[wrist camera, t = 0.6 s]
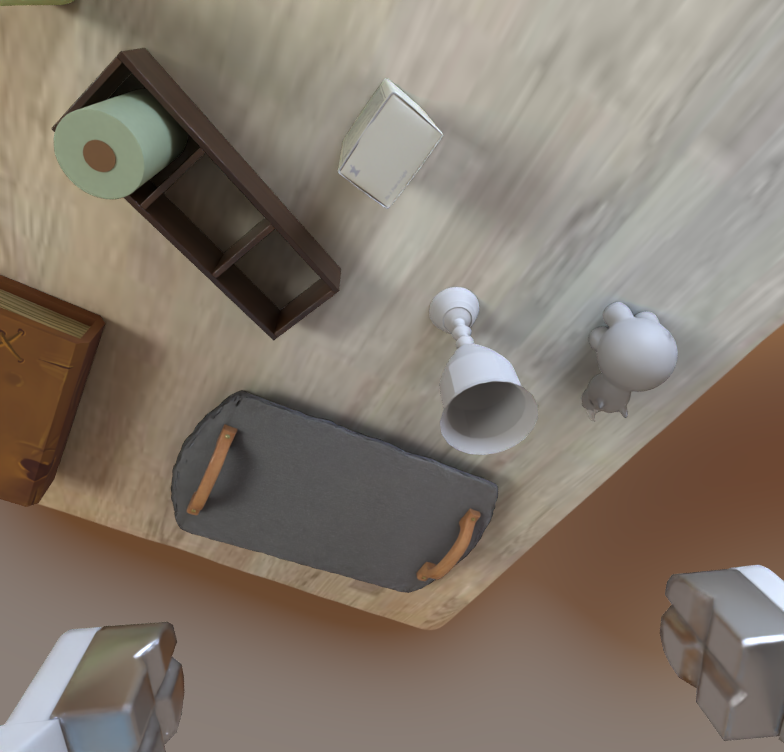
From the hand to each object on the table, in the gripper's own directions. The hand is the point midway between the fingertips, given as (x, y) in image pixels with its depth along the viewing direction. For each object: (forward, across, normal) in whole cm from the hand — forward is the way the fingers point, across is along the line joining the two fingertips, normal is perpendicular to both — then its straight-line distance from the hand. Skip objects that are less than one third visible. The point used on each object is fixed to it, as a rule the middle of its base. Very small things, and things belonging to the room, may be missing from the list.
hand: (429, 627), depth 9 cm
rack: (+45, +11, -7) cm, 47 cm away
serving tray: (+54, +3, +28) cm, 61 cm away
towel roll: (+44, +16, -12) cm, 48 cm away
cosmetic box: (+43, -3, -12) cm, 45 cm away
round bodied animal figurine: (+48, -26, +10) cm, 55 cm away
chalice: (+47, -10, +5) cm, 48 cm away
